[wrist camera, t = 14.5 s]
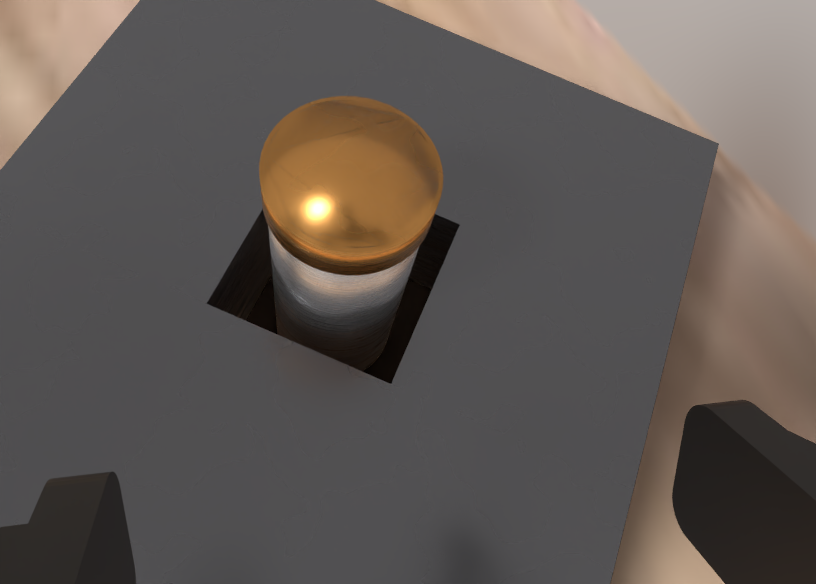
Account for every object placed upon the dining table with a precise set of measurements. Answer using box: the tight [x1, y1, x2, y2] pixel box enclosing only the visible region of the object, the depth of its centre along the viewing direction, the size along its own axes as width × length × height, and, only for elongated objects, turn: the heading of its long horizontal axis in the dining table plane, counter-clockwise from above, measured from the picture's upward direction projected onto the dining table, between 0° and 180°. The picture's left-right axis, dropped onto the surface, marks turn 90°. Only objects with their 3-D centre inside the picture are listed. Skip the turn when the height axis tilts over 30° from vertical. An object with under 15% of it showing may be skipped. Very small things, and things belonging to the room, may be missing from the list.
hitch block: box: [0, 0, 719, 584], centre depth 23 cm, size 20×20×5 cm
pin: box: [259, 96, 443, 371], centre depth 20 cm, size 4×4×10 cm
